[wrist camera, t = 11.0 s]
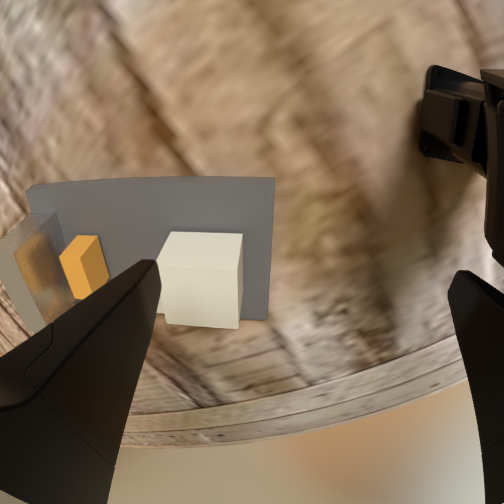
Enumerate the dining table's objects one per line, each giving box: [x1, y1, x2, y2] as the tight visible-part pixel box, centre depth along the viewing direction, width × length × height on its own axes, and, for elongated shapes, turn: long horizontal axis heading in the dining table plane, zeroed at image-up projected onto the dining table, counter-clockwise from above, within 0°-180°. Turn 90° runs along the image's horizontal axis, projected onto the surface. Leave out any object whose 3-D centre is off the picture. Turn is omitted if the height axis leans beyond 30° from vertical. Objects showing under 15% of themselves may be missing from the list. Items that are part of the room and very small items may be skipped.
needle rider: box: [59, 235, 109, 299], centre depth 22 cm, size 2×8×4 cm, turn 179°
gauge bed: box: [0, 176, 275, 332], centre depth 21 cm, size 20×12×7 cm, turn 89°
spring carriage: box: [156, 232, 243, 329], centre depth 21 cm, size 5×5×4 cm
